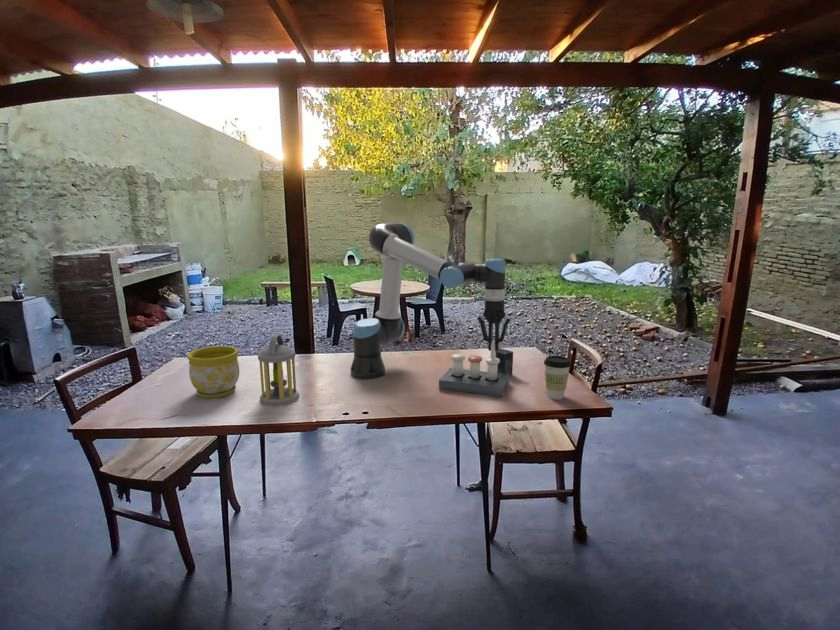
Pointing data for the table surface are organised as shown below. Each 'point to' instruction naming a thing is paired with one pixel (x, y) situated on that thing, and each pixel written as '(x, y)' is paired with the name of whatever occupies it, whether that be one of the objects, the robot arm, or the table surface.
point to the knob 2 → (492, 368)
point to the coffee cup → (556, 376)
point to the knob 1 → (458, 364)
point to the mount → (474, 383)
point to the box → (504, 361)
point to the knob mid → (475, 366)
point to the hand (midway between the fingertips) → (493, 358)
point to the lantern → (277, 373)
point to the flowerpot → (214, 370)
